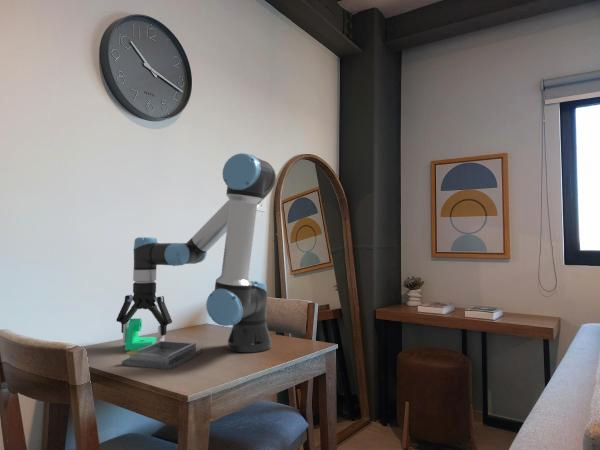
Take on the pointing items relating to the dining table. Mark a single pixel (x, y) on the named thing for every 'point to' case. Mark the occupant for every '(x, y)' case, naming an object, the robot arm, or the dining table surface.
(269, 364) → the dining table surface
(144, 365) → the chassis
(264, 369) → the dining table surface
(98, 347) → the dining table surface
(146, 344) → the camera mount
